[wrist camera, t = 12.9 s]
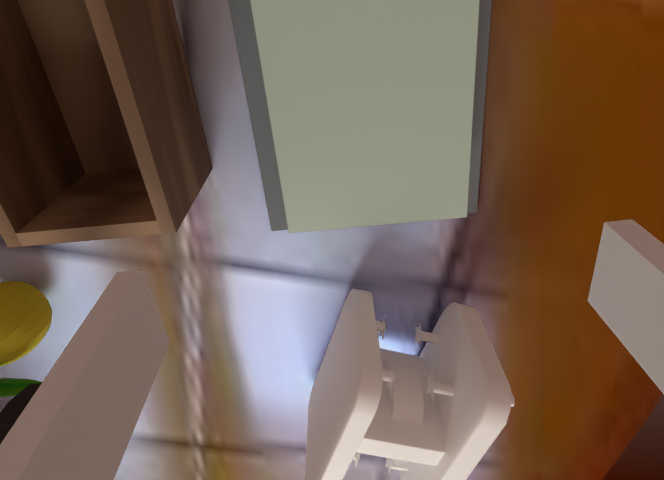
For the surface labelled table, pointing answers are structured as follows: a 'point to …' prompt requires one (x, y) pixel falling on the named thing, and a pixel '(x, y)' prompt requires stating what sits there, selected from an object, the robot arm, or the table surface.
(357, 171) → the lid
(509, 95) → the table surface
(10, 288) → the lemon
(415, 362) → the cable organizer
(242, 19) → the mat
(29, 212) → the box
